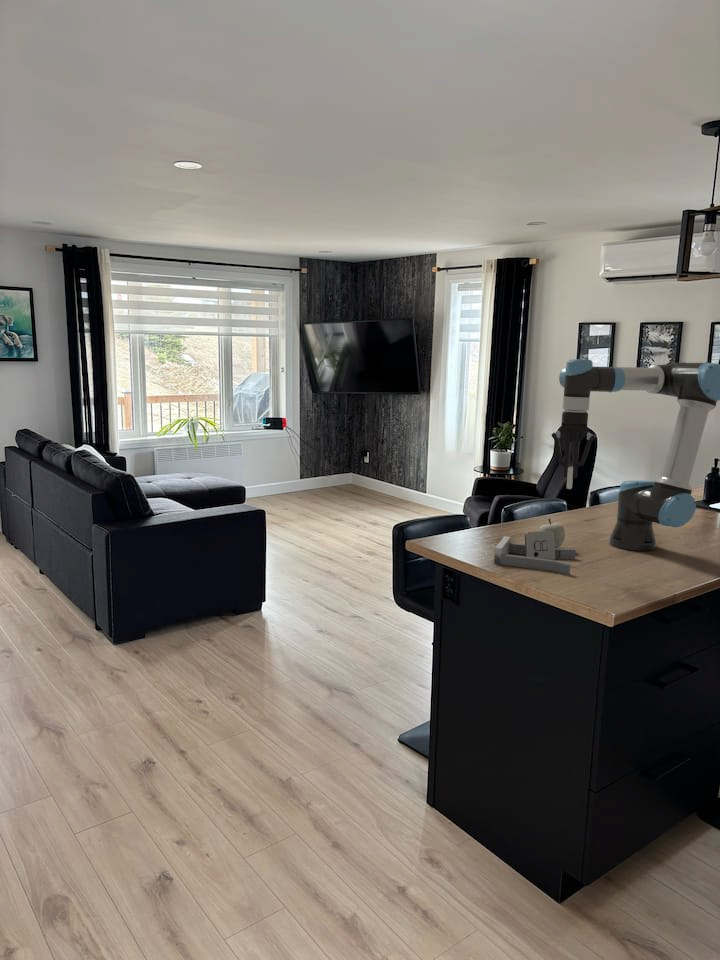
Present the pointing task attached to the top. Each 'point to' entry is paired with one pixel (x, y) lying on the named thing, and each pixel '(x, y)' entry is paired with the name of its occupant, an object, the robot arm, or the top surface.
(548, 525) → the decorative object
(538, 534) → the electrical switch
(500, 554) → the rail channel
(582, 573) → the top surface
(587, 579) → the top surface
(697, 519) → the top surface
